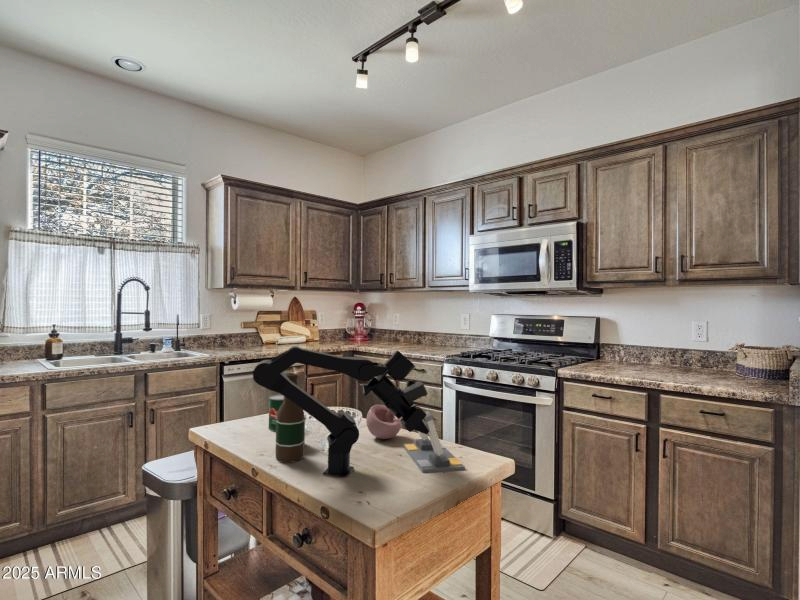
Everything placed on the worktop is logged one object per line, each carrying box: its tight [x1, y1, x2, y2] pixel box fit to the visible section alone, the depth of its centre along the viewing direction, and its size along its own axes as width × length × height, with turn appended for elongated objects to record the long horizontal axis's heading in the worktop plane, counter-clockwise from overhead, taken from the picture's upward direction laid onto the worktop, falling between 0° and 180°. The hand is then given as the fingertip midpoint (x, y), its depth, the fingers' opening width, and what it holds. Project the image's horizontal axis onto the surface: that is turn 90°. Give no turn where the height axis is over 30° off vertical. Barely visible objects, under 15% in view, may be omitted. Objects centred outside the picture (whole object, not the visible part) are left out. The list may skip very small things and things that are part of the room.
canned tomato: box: [268, 394, 284, 432], centre depth 158 cm, size 8×8×11 cm
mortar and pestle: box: [366, 403, 403, 440], centre depth 149 cm, size 12×12×11 cm
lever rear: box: [411, 404, 430, 443], centre depth 138 cm, size 2×4×12 cm, turn 13°
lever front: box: [422, 411, 444, 459], centre depth 125 cm, size 2×4×12 cm, turn 13°
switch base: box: [402, 438, 466, 473], centre depth 132 cm, size 12×22×2 cm, turn 13°
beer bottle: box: [275, 372, 305, 464], centre depth 128 cm, size 8×8×24 cm
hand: (427, 432), depth 124 cm, fingers closed
